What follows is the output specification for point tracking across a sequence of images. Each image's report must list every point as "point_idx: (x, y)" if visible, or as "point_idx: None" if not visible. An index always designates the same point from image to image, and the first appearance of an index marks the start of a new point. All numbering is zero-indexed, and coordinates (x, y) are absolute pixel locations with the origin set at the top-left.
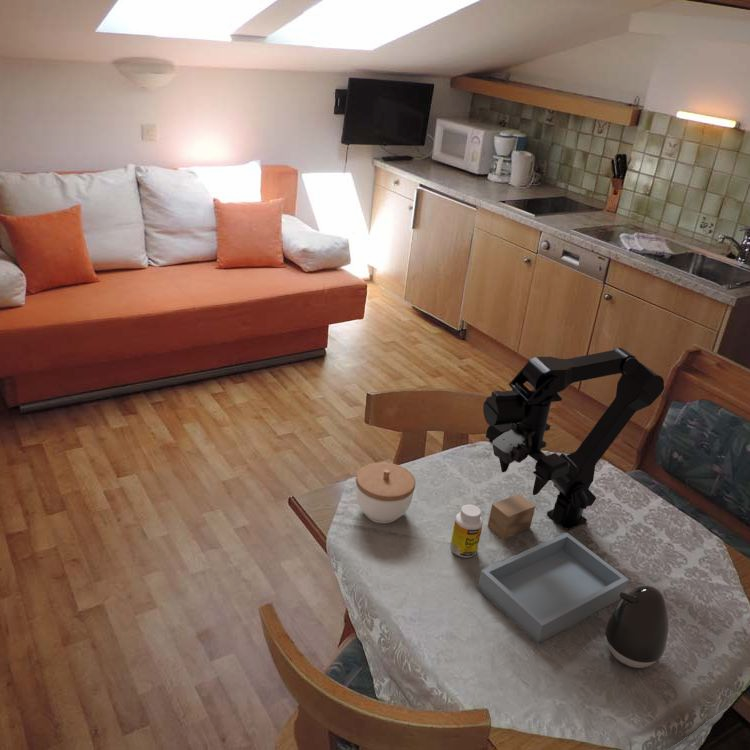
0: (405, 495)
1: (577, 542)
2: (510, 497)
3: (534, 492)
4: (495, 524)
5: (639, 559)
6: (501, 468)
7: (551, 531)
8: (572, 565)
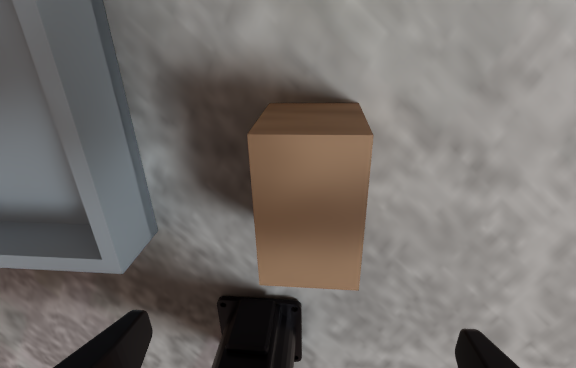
0: None
1: (68, 264)
2: (360, 246)
3: (110, 329)
4: (321, 111)
5: (78, 340)
6: (496, 352)
7: (234, 260)
8: (65, 197)
